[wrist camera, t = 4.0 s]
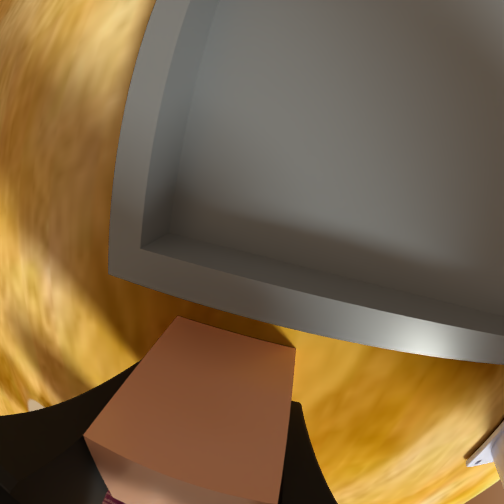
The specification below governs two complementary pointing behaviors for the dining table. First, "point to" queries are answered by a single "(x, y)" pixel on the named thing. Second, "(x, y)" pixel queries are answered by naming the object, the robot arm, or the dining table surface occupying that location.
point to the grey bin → (321, 168)
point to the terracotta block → (198, 421)
